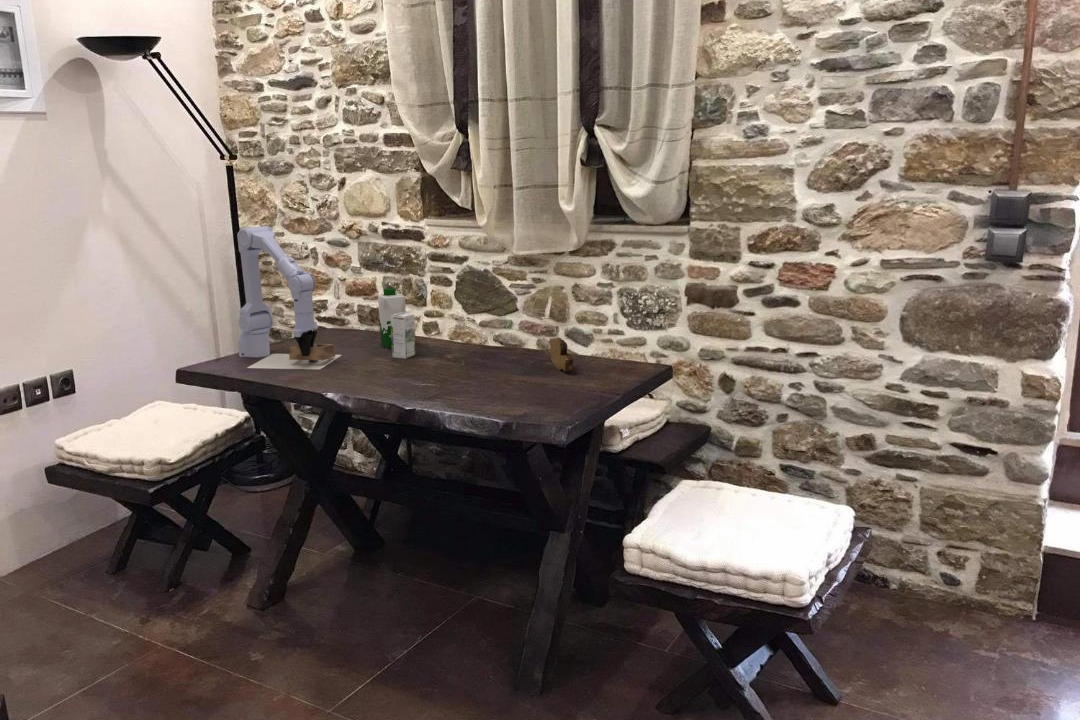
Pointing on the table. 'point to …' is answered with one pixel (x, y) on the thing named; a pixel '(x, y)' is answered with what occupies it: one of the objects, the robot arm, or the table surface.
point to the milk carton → (389, 313)
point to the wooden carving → (560, 354)
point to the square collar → (313, 352)
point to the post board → (291, 362)
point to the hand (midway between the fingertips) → (307, 355)
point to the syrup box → (403, 335)
